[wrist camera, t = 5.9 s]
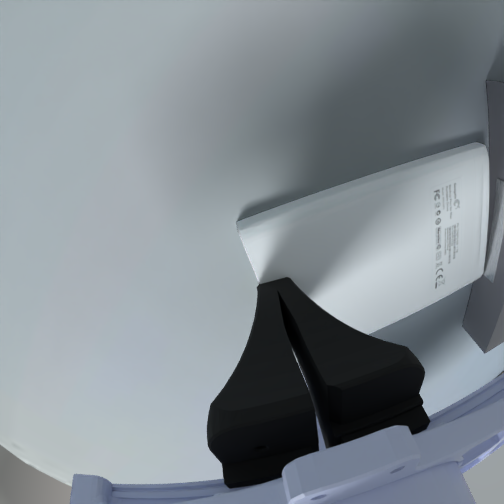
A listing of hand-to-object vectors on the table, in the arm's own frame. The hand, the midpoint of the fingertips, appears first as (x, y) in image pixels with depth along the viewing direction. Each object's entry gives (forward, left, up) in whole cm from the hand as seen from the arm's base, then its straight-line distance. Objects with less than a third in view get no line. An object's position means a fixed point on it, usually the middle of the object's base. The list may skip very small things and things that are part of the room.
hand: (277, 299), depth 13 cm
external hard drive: (0, -6, -2) cm, 6 cm away
